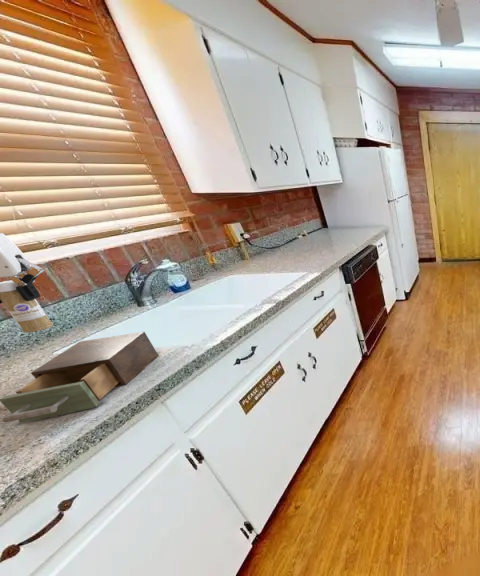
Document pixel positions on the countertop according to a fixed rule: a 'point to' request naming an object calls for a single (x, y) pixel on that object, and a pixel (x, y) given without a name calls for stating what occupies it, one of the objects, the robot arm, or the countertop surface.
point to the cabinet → (107, 356)
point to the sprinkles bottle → (23, 309)
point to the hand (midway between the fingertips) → (17, 300)
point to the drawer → (60, 393)
